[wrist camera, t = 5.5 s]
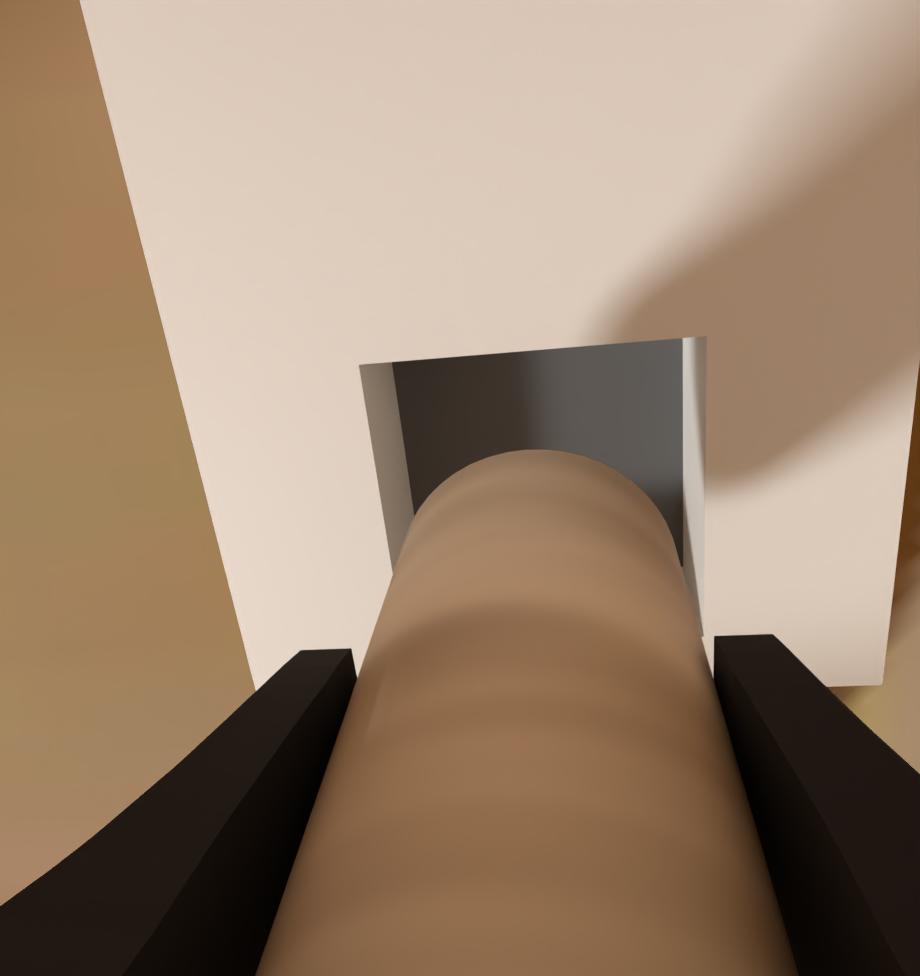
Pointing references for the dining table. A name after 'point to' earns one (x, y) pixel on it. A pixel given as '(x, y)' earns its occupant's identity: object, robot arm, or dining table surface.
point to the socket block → (536, 283)
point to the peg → (532, 756)
